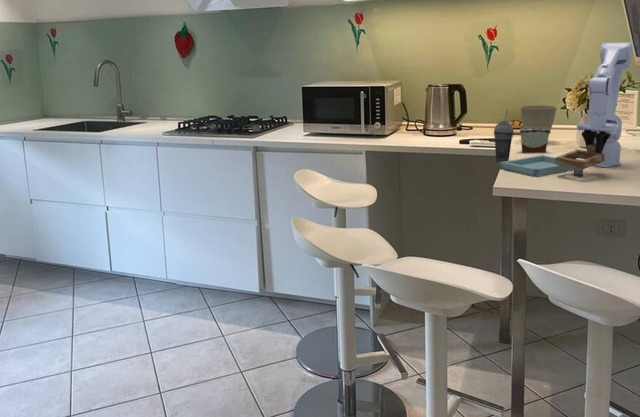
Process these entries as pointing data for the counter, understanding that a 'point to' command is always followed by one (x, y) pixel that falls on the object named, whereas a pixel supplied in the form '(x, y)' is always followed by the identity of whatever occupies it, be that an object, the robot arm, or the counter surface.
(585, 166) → the frame
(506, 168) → the tray
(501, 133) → the beverage cup
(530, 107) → the plant pot
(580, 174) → the stake
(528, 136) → the food container
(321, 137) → the counter surface
